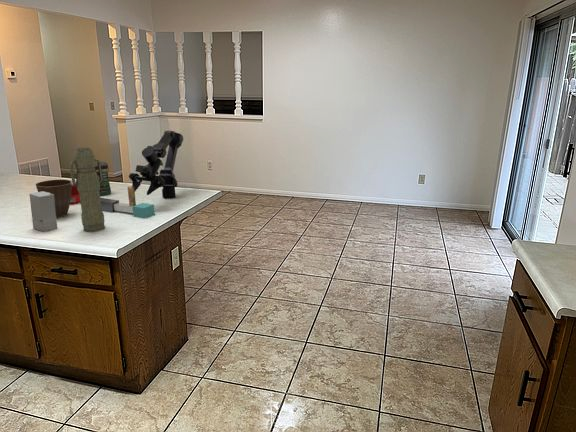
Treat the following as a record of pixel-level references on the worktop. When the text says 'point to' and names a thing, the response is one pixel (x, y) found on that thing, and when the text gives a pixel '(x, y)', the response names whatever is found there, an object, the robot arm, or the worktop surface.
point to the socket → (143, 210)
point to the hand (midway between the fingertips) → (139, 193)
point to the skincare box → (43, 211)
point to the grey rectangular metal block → (107, 204)
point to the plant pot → (58, 194)
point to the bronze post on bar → (126, 207)
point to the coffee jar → (104, 179)
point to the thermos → (88, 189)
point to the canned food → (74, 195)
